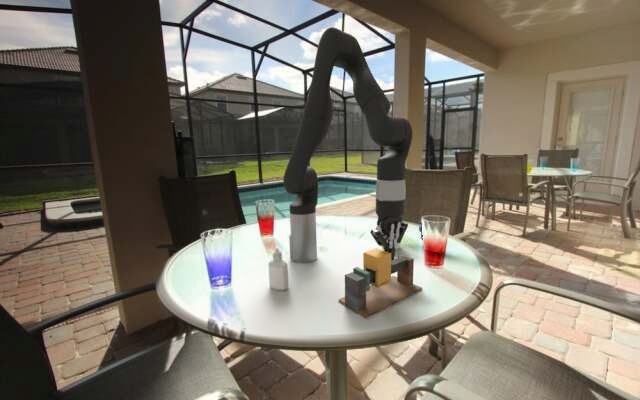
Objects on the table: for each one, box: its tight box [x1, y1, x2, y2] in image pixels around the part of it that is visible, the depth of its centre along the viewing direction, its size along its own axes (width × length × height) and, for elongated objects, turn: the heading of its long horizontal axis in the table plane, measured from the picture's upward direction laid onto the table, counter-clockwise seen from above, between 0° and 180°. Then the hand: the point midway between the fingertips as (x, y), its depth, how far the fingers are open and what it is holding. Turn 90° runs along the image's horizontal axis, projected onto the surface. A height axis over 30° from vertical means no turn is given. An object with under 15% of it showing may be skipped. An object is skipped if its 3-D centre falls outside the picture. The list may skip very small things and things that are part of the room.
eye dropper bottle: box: [268, 247, 290, 291], centre depth 84 cm, size 4×6×12 cm
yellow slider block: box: [362, 247, 392, 288], centre depth 76 cm, size 5×5×8 cm
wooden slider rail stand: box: [338, 254, 423, 319], centre depth 78 cm, size 22×10×9 cm, turn 127°
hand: (389, 259), depth 79 cm, fingers closed
